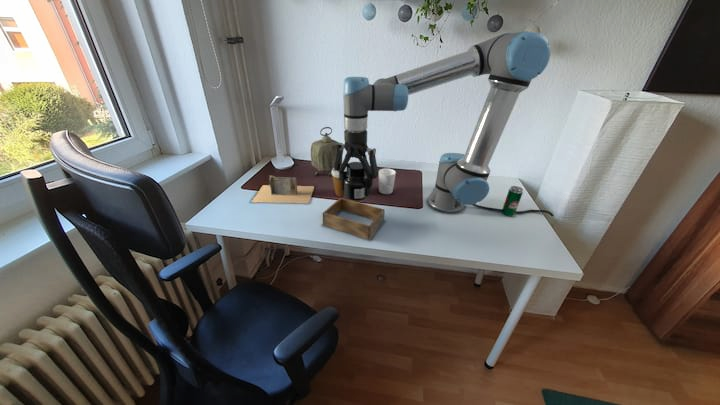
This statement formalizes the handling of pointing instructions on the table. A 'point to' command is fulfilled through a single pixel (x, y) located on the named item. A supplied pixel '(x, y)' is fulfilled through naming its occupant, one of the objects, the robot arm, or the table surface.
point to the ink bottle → (355, 182)
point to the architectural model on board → (284, 191)
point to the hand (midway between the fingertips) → (355, 191)
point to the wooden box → (352, 226)
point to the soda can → (512, 200)
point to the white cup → (386, 180)
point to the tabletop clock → (324, 153)
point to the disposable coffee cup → (337, 182)
